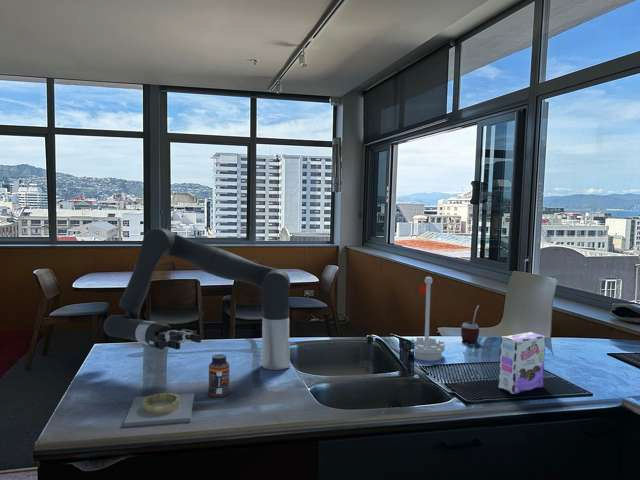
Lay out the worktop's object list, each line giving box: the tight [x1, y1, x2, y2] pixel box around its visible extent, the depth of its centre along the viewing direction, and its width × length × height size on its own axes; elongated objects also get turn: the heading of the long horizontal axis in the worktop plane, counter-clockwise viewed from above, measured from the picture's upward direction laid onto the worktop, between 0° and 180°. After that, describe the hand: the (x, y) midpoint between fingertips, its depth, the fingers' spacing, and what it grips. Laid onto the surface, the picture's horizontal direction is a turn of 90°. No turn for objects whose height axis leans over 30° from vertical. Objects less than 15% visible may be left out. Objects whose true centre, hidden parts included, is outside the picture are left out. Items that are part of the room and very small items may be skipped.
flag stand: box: [409, 276, 446, 362], centre depth 174 cm, size 13×13×30 cm
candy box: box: [498, 331, 546, 395], centre depth 144 cm, size 14×6×16 cm, turn 117°
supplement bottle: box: [208, 353, 230, 398], centre depth 136 cm, size 6×6×11 cm
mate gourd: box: [460, 304, 480, 345], centre depth 193 cm, size 8×8×15 cm
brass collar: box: [143, 392, 180, 415], centre depth 125 cm, size 9×9×2 cm
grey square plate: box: [123, 392, 195, 428], centre depth 125 cm, size 16×16×1 cm
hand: (190, 342), depth 141 cm, fingers open, 8 cm apart
